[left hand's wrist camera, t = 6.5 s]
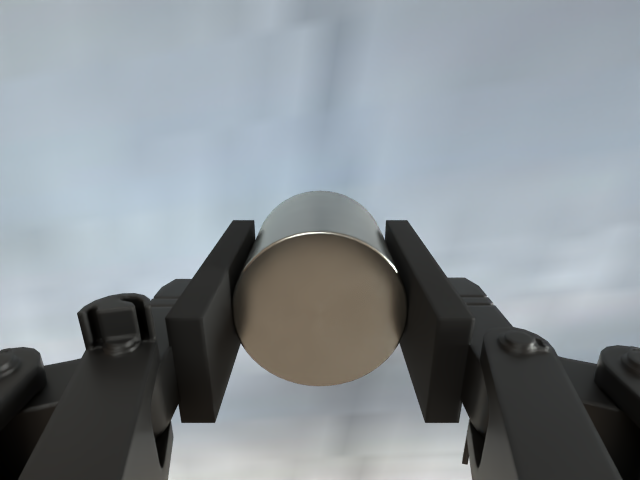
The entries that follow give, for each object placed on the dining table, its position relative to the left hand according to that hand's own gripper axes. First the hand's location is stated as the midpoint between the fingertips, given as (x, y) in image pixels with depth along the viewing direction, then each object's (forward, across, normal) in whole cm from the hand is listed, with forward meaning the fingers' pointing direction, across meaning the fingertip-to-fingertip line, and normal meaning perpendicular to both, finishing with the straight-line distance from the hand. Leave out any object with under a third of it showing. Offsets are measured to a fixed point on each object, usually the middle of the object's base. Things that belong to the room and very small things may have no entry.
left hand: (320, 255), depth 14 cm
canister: (0, 0, 0) cm, 0 cm away
